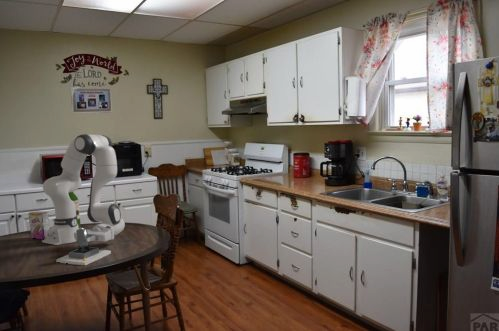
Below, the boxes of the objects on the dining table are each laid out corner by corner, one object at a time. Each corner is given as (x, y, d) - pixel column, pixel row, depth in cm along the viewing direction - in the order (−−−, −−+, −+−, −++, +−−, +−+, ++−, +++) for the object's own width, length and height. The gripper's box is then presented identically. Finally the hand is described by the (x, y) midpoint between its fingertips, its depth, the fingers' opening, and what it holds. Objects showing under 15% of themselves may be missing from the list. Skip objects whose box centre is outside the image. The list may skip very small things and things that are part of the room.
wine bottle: (75, 231, 257) (70, 181, 253) (63, 230, 258) (58, 181, 255) (83, 227, 265) (79, 179, 262) (71, 227, 267) (67, 179, 264)
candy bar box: (30, 239, 242) (27, 212, 241) (37, 236, 247) (34, 210, 245) (44, 240, 239) (41, 213, 237) (51, 237, 243) (48, 211, 242)
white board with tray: (56, 262, 196) (55, 254, 196) (83, 250, 213) (83, 243, 212) (85, 265, 190) (84, 257, 189) (110, 253, 206) (110, 245, 206)
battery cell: (76, 254, 200) (73, 229, 198) (83, 250, 204) (81, 226, 203) (84, 254, 198) (81, 229, 196) (91, 251, 202) (89, 227, 201)
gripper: (85, 225, 216) (64, 232, 203) (115, 227, 208) (96, 234, 195) (86, 236, 216) (66, 244, 204) (116, 239, 209) (97, 247, 196)
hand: (81, 239), depth 199 cm, fingers closed on battery cell, 5 cm apart
